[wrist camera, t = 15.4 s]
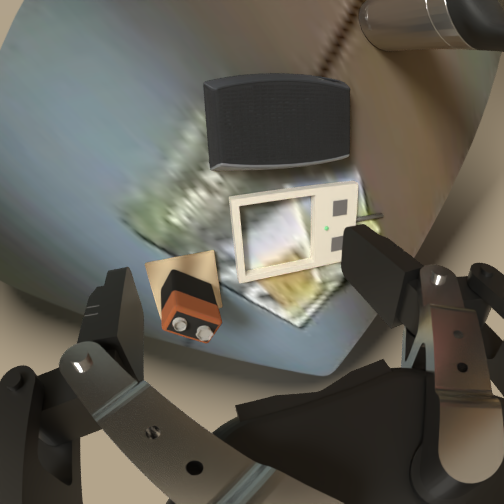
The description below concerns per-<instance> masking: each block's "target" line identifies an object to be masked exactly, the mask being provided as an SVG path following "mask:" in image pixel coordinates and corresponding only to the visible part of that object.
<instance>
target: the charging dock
mask: <svg viewBox="0 0 504 504" xmlns="http://www.w3.org/2000/svg"><path fill="white" fill-rule="evenodd" d="M304 196H311V246H310V258H306V259H301V260H297V261H292V262H287V263H282V264H277V265H272V266H267V267H262V268H257V269H252V270H247V271H245V264H244V254H243V243H242V233H241V222H240V211H239V206H243V205H250V204H256V203H262V202H269V201H276V200H283V199H290V198H297V197H304ZM357 199H358V183H357V182H355V181H345V182H336V183H327V184H318V185H310V186H301V187H294V188H286V189H278V190H271V191H264V192H257V193H250V194H244V195H237V196H231V197H229V204H230V214H231V224H232V233H233V242H234V251H235V260H236V269H237V278H238V281H239V283H244V282H249V281H253V280H258V279H263V278H268V277H273V276H277V275H282V274H287V273H291V272H296V271H301V270H305V269H310V268H314V267H319V266H323V265H328V264H332V263H337V262H341V257H342V244H343V232H344V229H345V228H346V227H350V226H355V225H356V222H358V221H364V220H370V219H376V218H382V217H383V214H382V213H380V214H374V215H368V216H362V217H356V215H357Z"/></svg>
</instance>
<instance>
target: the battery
mask: <svg viewBox="0 0 504 504" xmlns="http://www.w3.org/2000/svg"><path fill="white" fill-rule="evenodd" d="M161 318H162V329H163V330H165V331H168V332H171V333H174V334H177V335H180V336H183V337H187V338H190V339H193V340H196V341H200V342H203V343H208V342H209V341H210V340H211V338H212V337H213V335H214V334H215V333H216V331H217V330H218V328H219V327H220V325H221V324H222V319H221V316H220V312H219V309H218V305H217V302H216V298H215V295H214V291H213V287H212V285H211V284H210V283H207V282H205V281H202V280H200V279H197V278H195V277H192V276H190V275H187V274H185V273H182V272H180V271H177V270H174V269H172V270H171V271H170V273H169V275H168V277H167V279H166V281H165V283H164V284H163V286H162V288H161Z"/></svg>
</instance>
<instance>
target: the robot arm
mask: <svg viewBox="0 0 504 504" xmlns="http://www.w3.org/2000/svg"><path fill="white" fill-rule="evenodd" d="M359 21H360V26H361V28H362V31H363V33H364V34H365V36H366V37H367V39H368V40H369V41H370V42H371V43H372V44H373V45H374V46H376V47H377V48H379V49H381V50H384V51H402V50H425V49H466V50H487V51H502V52H504V10H503V8H502V7H501V5H500V3H499V2H498V0H367V1H366V2H365V3H364V4H363V5H362V6H361V8H360V12H359ZM341 268H342V272H343V275H344V276H345V278H346V279H347V280H348V281H349V282H350V283H351V284H352V286H353V287H354V288H355V289H356V290H357V291H358V292H359V293H360V294H361V295H362V297H363V298H364V299H365V300H366V301H367V302H368V303H369V304H370V305H371V307H372V308H373V309H374V310H375V311H376V312H377V313H378V314H379V316H380V317H381V318H382V319H383V320H384V321H385V322H386V324H387V325H388V326H389V327H390V328H394V327H397V326H399V325H401V324H404V325H405V328H404V331H403V344H402V363H401V364H402V365H401V368H390V367H389V366H388V365H387V364H386V362H385V361H384V360H383V359H382V360H379V361H377V362H374V363H372V364H369V365H367V366H364V367H362V368H359V369H356V370H354V371H351V372H350V373H348V374H347V375H345V376H344V377H342V378H341V379H339V380H338V381H336V382H334V383H333V384H332V385H330V386H328V387H327V388H325V389H323V390H321V391H319V392H312V393H303V394H289V395H275V396H272V397H268V398H264V399H260V400H256V401H252V402H248V403H244V404H239V405H235V407H236V412H237V417H236V418H234V419H232V420H230V421H228V422H227V423H225V424H223V425H222V426H220V427H219V428H218V429H217V430H215V431H214V432H213V433H211V432H209V431H208V430H207V429H205V428H204V427H202V426H201V425H200V424H198V423H197V422H196V421H194V420H193V419H192V418H190V417H189V416H188V415H186V414H185V413H184V412H183V411H181V410H180V409H179V408H178V407H176V406H175V405H174V404H173V403H171V402H170V401H169V400H168V399H166V398H165V397H164V396H163V395H162V394H160V393H159V392H158V391H157V390H156V389H155V388H153V387H152V386H151V385H150V384H149V383H147V382H146V381H144V375H143V340H144V338H143V337H144V315H143V309H142V305H141V302H140V299H139V295H138V292H137V289H136V286H135V283H134V280H133V276H132V273H131V270H130V268H129V267H125V268H120V269H115V270H109V271H108V273H107V277H106V280H105V284H104V286H100V287H97V288H96V289H95V290H94V292H93V293H92V294H91V295H90V296H89V299H88V303H87V308H86V310H85V314H84V316H85V317H84V318H83V322H82V325H81V329H80V333H79V338H78V342H77V344H75V345H73V346H72V347H70V348H69V349H67V350H66V351H65V353H64V354H63V355H62V357H61V359H60V362H59V368H57V369H54V370H52V371H49V372H47V373H44V374H41V375H39V376H37V375H36V374H35V372H34V371H33V370H32V369H31V368H30V367H28V366H17V367H14V368H12V369H11V370H9V371H8V372H7V373H6V374H5V375H4V376H3V378H2V379H1V381H0V504H83V502H82V489H81V466H80V437H83V436H85V435H88V434H90V433H93V432H96V431H98V430H101V429H103V430H104V432H105V433H106V434H107V435H108V436H109V437H110V439H111V440H112V441H113V442H114V443H115V444H116V445H117V447H118V448H119V449H120V450H121V451H122V452H123V453H124V454H125V455H126V456H127V457H128V459H130V461H131V462H132V463H133V464H134V465H135V466H136V467H137V468H138V469H139V470H140V471H141V472H142V473H143V474H144V475H145V476H146V477H147V478H148V479H149V480H150V481H151V482H152V483H153V484H154V485H156V486H157V487H158V488H159V489H160V490H161V491H162V492H163V493H164V494H165V495H166V496H168V497H169V499H168V501H167V503H166V504H504V398H501V397H498V396H495V395H493V393H492V388H491V381H492V382H493V383H494V385H495V386H496V387H497V388H498V390H499V391H500V392H501V393H502V395H503V396H504V341H502V340H501V339H500V337H499V336H498V335H497V334H496V333H495V332H494V331H493V330H492V329H491V328H490V327H489V326H488V325H487V324H486V323H485V321H486V319H487V317H488V315H489V312H490V310H491V308H493V309H494V310H495V311H496V312H497V313H498V314H499V315H500V316H501V317H502V318H503V319H504V275H503V274H502V273H501V272H499V271H498V270H497V269H496V268H494V267H492V266H490V265H488V264H485V263H475V264H473V265H472V266H471V268H470V272H469V275H468V276H465V277H456V276H455V274H454V273H453V272H452V271H451V270H449V269H447V268H445V267H443V266H439V265H426V266H423V265H422V264H421V263H420V262H418V261H417V260H416V259H415V258H413V257H412V256H411V255H409V254H408V253H407V252H405V251H403V249H402V248H400V247H399V246H397V245H396V244H395V243H394V242H392V241H391V240H390V239H388V238H386V237H383V236H381V235H379V234H377V233H376V232H374V231H373V230H372V229H370V228H369V227H368V226H366V225H365V224H361V225H355V226H350V227H346V228H345V229H344V232H343V244H342V257H341ZM490 380H491V381H490Z"/></svg>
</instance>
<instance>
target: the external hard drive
mask: <svg viewBox="0 0 504 504" xmlns="http://www.w3.org/2000/svg"><path fill="white" fill-rule="evenodd" d="M204 99H205V112H206V126H207V138H208V149H209V163H210V170H215V171H237V170H267V169H283V168H293V167H302V166H309V165H316V164H322V163H327V162H332V161H337V160H341V159H344V158H347V157H349V153H350V88H349V86H348V85H347V84H346V83H344V82H342V81H339V80H335V79H330V78H325V77H318V76H311V75H302V74H279V73H270V74H269V73H268V74H250V75H239V76H232V77H225V78H220V79H214V80H209V81H206V82H204Z"/></svg>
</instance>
